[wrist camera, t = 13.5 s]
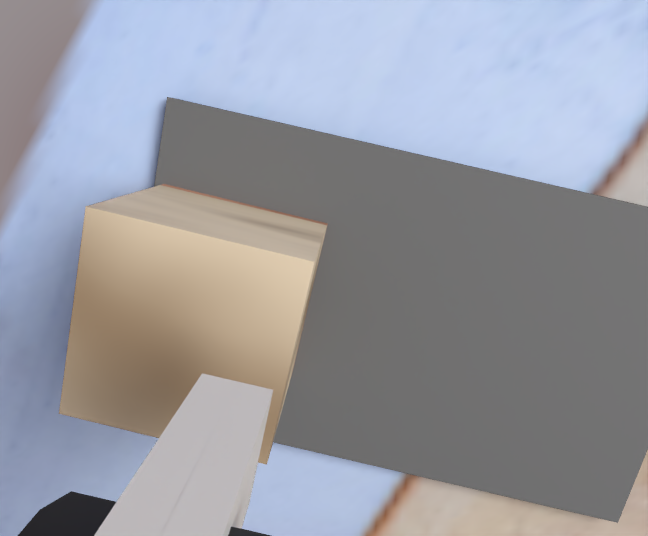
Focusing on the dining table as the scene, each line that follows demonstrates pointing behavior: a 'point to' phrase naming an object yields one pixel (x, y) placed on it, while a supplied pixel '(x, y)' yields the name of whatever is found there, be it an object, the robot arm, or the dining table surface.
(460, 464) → the mat
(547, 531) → the dining table surface
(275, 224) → the cube
